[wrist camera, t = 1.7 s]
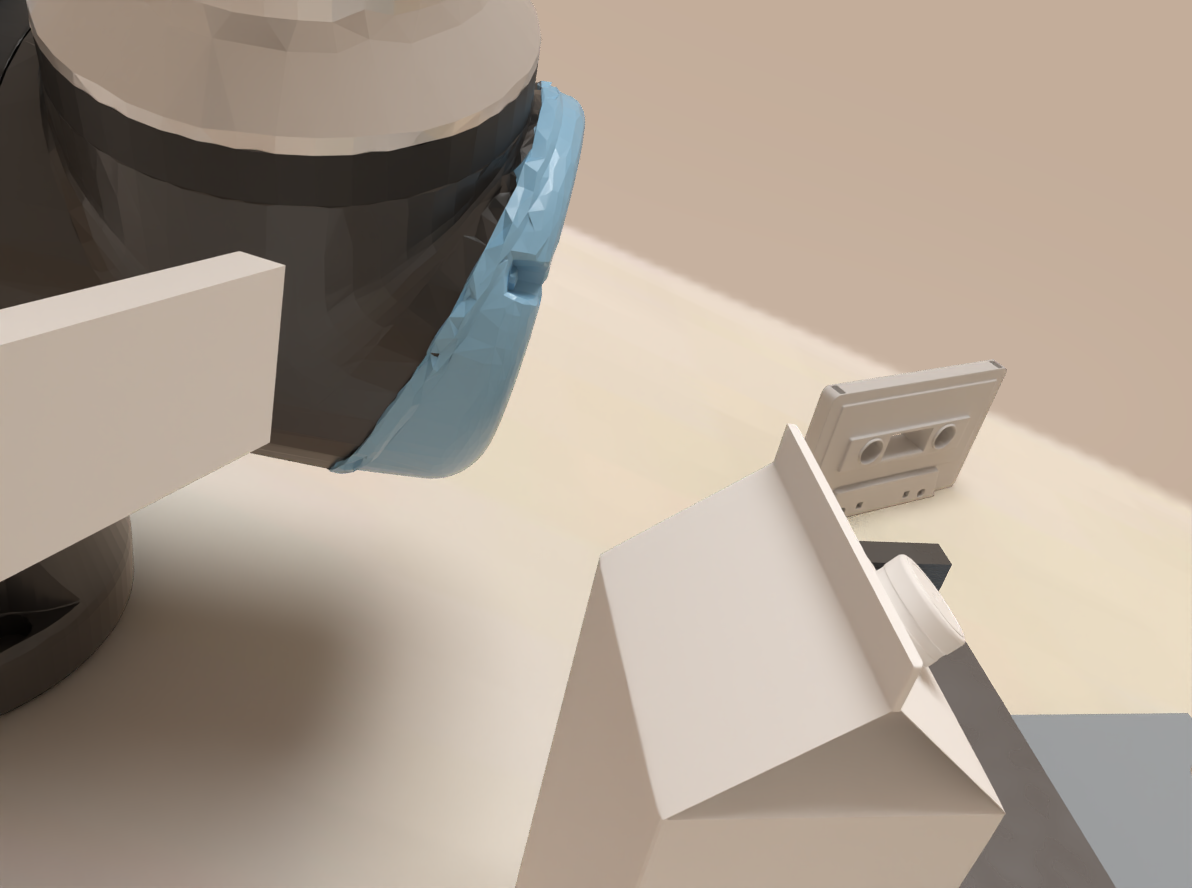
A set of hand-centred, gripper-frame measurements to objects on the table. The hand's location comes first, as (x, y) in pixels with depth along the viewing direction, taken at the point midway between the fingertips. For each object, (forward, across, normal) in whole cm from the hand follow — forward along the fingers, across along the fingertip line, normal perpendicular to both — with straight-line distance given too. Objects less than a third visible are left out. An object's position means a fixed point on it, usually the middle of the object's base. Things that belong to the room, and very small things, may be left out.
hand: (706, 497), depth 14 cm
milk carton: (+10, +1, -22) cm, 24 cm away
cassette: (+41, +2, -16) cm, 44 cm away
